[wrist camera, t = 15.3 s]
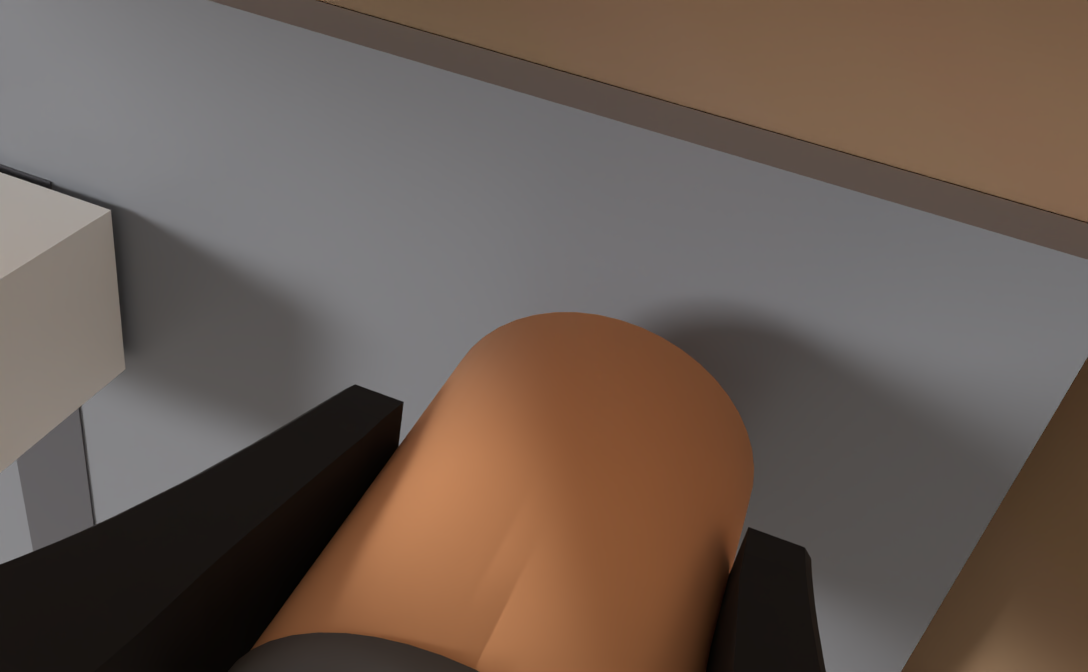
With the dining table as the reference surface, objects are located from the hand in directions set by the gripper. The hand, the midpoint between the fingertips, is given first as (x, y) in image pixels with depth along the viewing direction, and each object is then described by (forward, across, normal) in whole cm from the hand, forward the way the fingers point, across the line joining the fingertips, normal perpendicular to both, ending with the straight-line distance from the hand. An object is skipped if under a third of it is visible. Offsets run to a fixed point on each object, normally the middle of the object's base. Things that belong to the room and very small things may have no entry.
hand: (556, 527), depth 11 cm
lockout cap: (+2, 0, 0) cm, 2 cm away
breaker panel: (+4, +5, +6) cm, 8 cm away
